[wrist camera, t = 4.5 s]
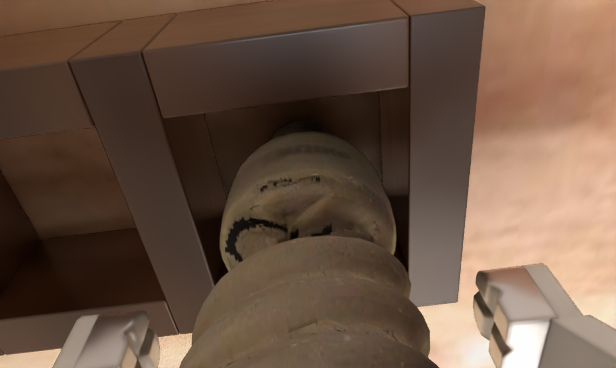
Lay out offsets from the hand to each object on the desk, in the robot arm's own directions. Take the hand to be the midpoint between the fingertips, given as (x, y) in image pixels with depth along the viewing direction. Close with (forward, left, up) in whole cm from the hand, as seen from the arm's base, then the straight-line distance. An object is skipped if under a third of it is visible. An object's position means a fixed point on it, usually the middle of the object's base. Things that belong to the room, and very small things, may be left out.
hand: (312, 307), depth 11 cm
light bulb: (0, 0, -10) cm, 10 cm away
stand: (-5, 0, -9) cm, 11 cm away
